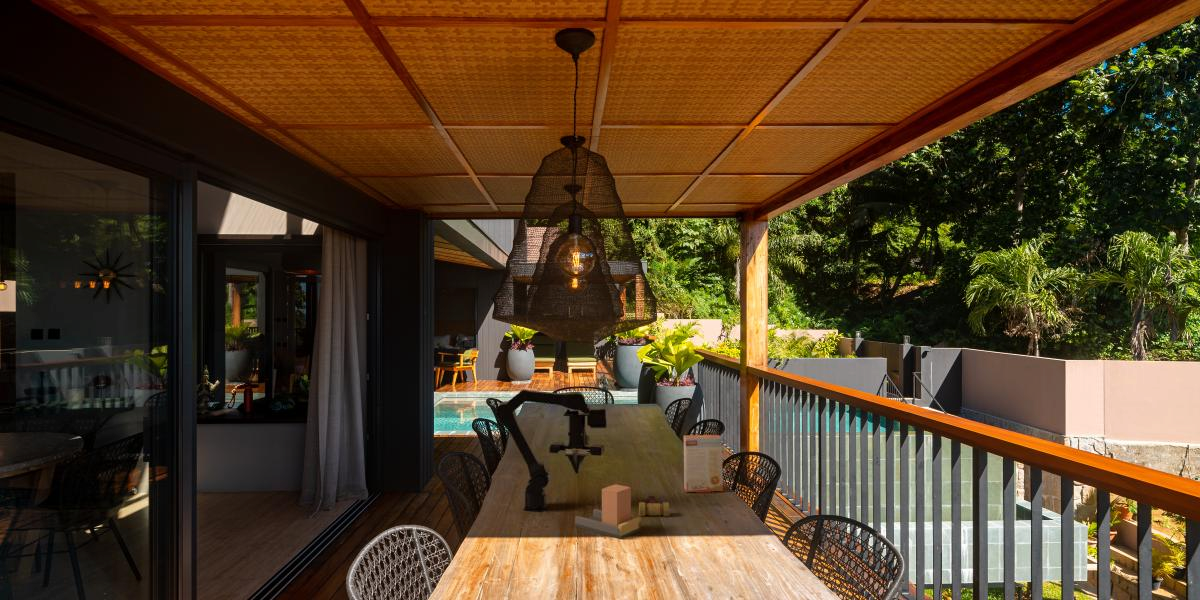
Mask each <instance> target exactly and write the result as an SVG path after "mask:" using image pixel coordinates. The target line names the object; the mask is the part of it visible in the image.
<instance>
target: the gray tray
mask: <svg viewBox="0 0 1200 600" xmlns="http://www.w3.org/2000/svg"><path fill="white" fill-rule="evenodd" d="M574 527H576V528H580V529H582V530H583V529H584V530H587V531H590V532H594V533H597V534H601V535H604V536H605V535H606V536H608V537H612V538H616V539H618V540H619V539H620V540H623V539H625V538H627V537H629V536H632V535H634V534H636V533H638V532H640V531H642V516H636V517H634V518H632V517H631V520H629V521H627V522H624V523H622V524H620V525H618V527H617V526H613V525H610V524H606V523H602V509H601V510H600V509H596V508H595V509H593V510H592V516H590V517H588V518H586V517H583V516H579V515H576V516H574Z"/></svg>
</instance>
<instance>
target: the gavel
mask: <svg viewBox="0 0 1200 600" xmlns="http://www.w3.org/2000/svg"><path fill="white" fill-rule="evenodd" d="M647 500H648V503H646V502H643V501H642V502H641V501H640V502H638V515H639V516H638V517H646V516H652V517H654V516H655V517H658V516H659V517H660V516H662V517H670V503H669V502H667V501H666V502H665V501H663V502H662V503H659V502H658V503H657V500H656V497H655V496H654V495H652V494H651V495H650V496H648V499H647Z"/></svg>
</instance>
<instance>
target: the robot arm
mask: <svg viewBox="0 0 1200 600" xmlns="http://www.w3.org/2000/svg"><path fill="white" fill-rule="evenodd" d="M526 402H528V403H536V404H537V403H538V404H547V405H548V404H549V405H555V406H556V405H557V406H561V407H563V408H566V410H565V412H564V413H563V417H568V432H567V436H568V445H567V444H566V445H565V441H564V442H562V441H555V442H552V443H551V444H550V445H549V449H548V450H549V454H558V453H559V452H561V451H565V454H564V456H565V457H567V459H568V460H569V462H570V464H571V466H572V468H573V471H574V473H575V475H576V474H577V475H578V474H579V473H580V470H581V467H582V463H583V461H584V459H585V458H586V457H587V456H589V454H590V455H591V456H599V457H600V456H603V454H605V450H606V446H605V445H604V444H601V443H593V444H591V445H590V435H588V434H587V429H586V426H588V427H590V429H607V417H606V415H607V413H606V412H607V410H606V408H591V407H590V406H589V405H588V403H587V402H586V397H585V395H584V394H583V393H582V392H580V391H567V392H560V393H559V392H550V391H539V390H530V389H525V388H524V389H520V391H519V392H518V393H517V394H515V395H514V396H513V397H512V398H510V399H509V400H508V401H503V402H501V403H500V404H499V405H498V406H497V407H496V409H495V416H496V418H497V419H498V420H499V422H500V424H502V425H503V427H504V428H505V429H507V431H508V432H509V434H510V436H511V438H512V440H513V441H514V444H515V445H516V447H517V449H518V450H519V452H520V454H521V456H522V458H523V460H524V462H525V464H526V465H527V468H528V474H529V477H530V479H528V481H527V483H526V487H525V491H524V502H525V503H524V507H523V511H529V510H531V511H532V512H542V511H543V510H544V509H545V508H547V506H548V505H547V494H546V490H545V488H546V487H547V485H548V484H549V481H550V477H551V476H550V469H549V468H548V466H547V464H546V460H543V461H540V460H539V459H538V458H537V455H536V454H535V451H534V450H533V448H532V446H531V445H530V441H528V439H527V437H526V435H525V434H524V432H523V429H522V427H521V425H520V423H519V420H518V416H517V412H516V410H517V409H518V408H520V406H521V405H523V404H524V403H526ZM531 511H530V512H531Z"/></svg>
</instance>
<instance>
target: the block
mask: <svg viewBox="0 0 1200 600" xmlns="http://www.w3.org/2000/svg"><path fill="white" fill-rule="evenodd" d="M631 491H632V488H631V486H630V487H629V486H625V485H620V484H612V485H609V486H606V487H603V488H601V511H602V523H606V524H610V525H613V526H617V527H618V525H620V524H622V523H624V522H627V521H629V520H631V518H632V516H631V515H632V513H631V511H632V508H631V506H632V503H631V502H632V501H631V500H632V499H631V498H632V497H631V496H632V495H631V494H632V492H631Z"/></svg>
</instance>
